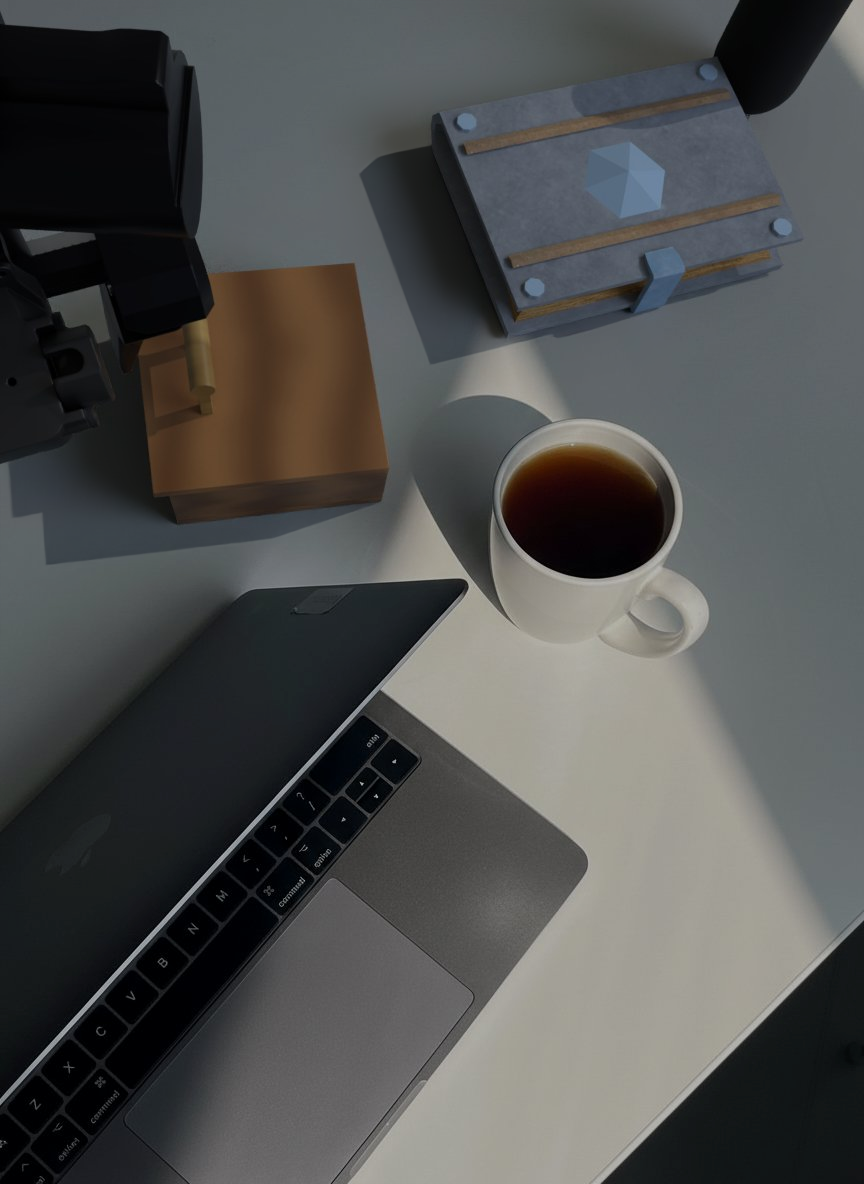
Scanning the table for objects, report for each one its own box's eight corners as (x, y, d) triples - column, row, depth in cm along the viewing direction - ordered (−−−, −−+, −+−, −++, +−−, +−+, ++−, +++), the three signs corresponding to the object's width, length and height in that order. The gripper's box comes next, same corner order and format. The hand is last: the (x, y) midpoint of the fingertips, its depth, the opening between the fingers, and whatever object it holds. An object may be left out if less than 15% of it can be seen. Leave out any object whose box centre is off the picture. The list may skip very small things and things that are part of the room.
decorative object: (793, 91, 78) (905, -86, 64) (758, 151, 76) (865, -19, 62) (719, 48, 78) (813, -138, 64) (682, 106, 77) (771, -73, 62)
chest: (178, 525, 63) (169, 496, 58) (155, 326, 66) (145, 285, 62) (381, 501, 65) (388, 472, 60) (350, 310, 68) (354, 269, 64)
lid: (154, 497, 58) (143, 466, 54) (131, 285, 62) (119, 239, 57) (388, 472, 60) (396, 440, 56) (354, 269, 64) (358, 223, 59)
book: (690, 89, 77) (716, 36, 72) (779, 277, 73) (812, 235, 69) (427, 144, 73) (436, 91, 68) (507, 346, 69) (523, 306, 64)
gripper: (-339, 468, 32) (-125, 600, 47) (235, 310, 36) (265, 480, 51) (-397, 178, 35) (-177, 390, 50) (144, 56, 38) (198, 289, 53)
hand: (32, 391), depth 51 cm, fingers open, 9 cm apart
